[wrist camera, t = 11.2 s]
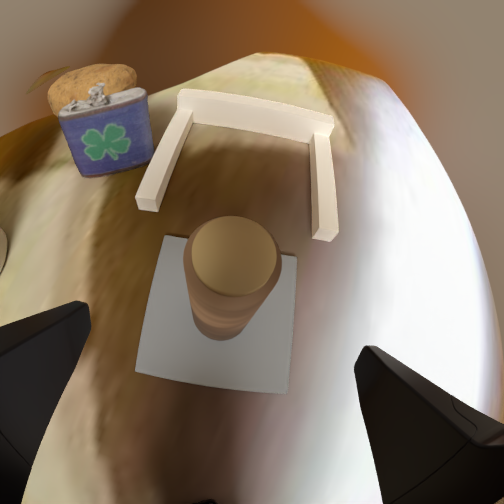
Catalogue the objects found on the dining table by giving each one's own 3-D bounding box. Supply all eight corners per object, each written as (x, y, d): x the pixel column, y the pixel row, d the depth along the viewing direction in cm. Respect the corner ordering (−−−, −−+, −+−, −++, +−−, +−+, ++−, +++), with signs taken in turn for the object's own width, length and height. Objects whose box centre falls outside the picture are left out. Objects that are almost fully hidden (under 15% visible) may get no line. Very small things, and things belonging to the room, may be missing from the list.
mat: (286, 393, 19) (287, 394, 19) (136, 371, 18) (134, 371, 18) (295, 258, 25) (297, 257, 24) (165, 237, 24) (164, 234, 23)
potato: (75, 99, 31) (65, 60, 24) (150, 97, 33) (147, 51, 25) (43, 139, 27) (26, 97, 20) (123, 139, 28) (112, 86, 21)
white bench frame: (330, 241, 26) (348, 221, 23) (139, 209, 24) (130, 183, 21) (322, 138, 33) (332, 116, 30) (182, 112, 32) (182, 88, 28)
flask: (154, 149, 28) (145, 68, 19) (155, 166, 27) (144, 82, 17) (81, 164, 26) (54, 92, 16) (78, 183, 25) (45, 109, 15)
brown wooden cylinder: (206, 349, 20) (207, 320, 10) (184, 299, 21) (167, 227, 11) (257, 326, 21) (303, 276, 11) (233, 279, 23) (256, 197, 13)
